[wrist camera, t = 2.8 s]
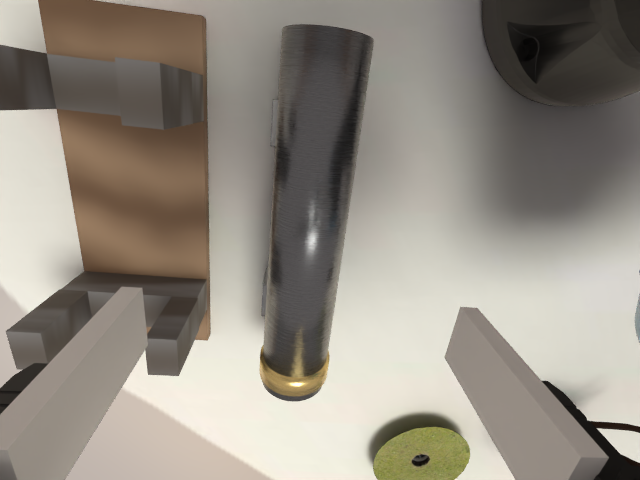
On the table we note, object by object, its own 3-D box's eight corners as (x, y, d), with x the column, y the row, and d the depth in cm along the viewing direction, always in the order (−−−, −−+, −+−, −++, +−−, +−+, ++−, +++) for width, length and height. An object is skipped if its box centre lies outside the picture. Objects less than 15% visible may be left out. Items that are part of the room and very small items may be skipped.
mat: (469, 409, 38) (477, 424, 36) (456, 474, 43) (463, 490, 41) (371, 415, 38) (375, 431, 36) (368, 480, 42) (371, 497, 40)
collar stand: (41, -4, 22) (-119, -70, 13) (207, 19, 23) (154, -29, 14) (96, 327, 31) (23, 408, 23) (211, 333, 32) (181, 413, 24)
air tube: (280, 38, 20) (275, 17, 16) (367, 50, 21) (388, 33, 16) (262, 351, 29) (255, 402, 24) (323, 354, 30) (328, 404, 25)
